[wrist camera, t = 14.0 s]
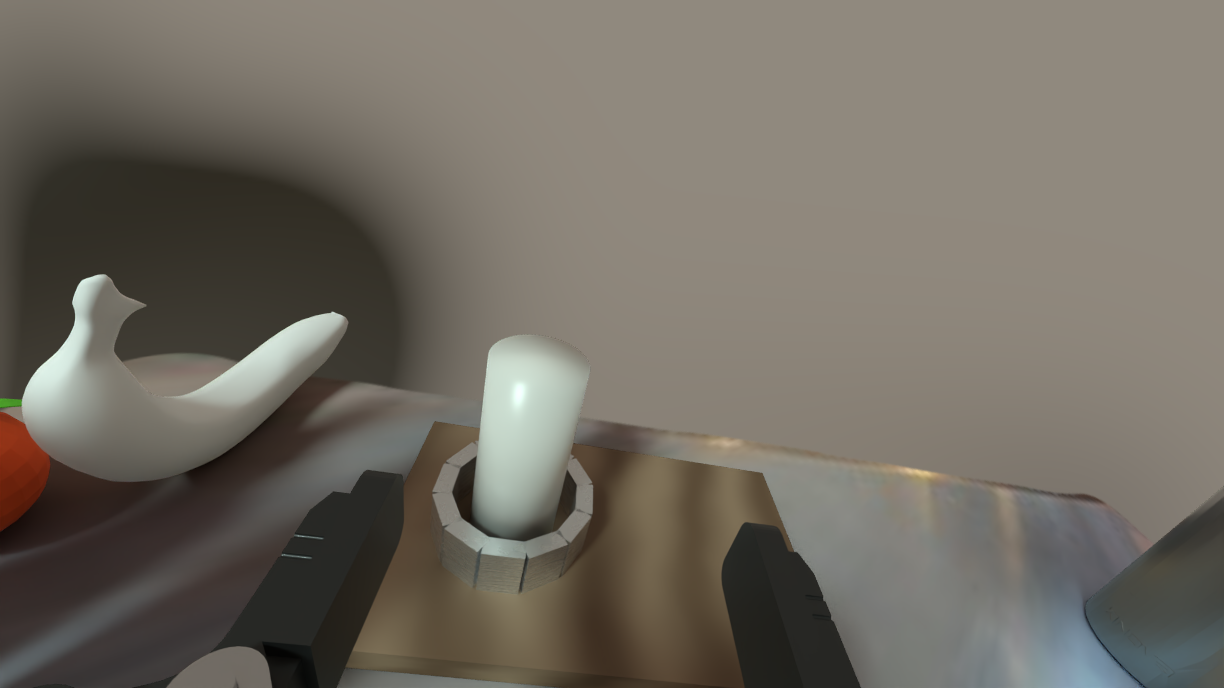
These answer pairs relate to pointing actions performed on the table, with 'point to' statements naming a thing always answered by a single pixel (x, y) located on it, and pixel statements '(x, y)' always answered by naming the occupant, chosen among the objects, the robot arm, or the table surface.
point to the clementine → (19, 467)
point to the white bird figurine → (150, 424)
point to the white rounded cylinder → (526, 434)
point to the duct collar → (504, 559)
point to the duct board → (578, 583)
